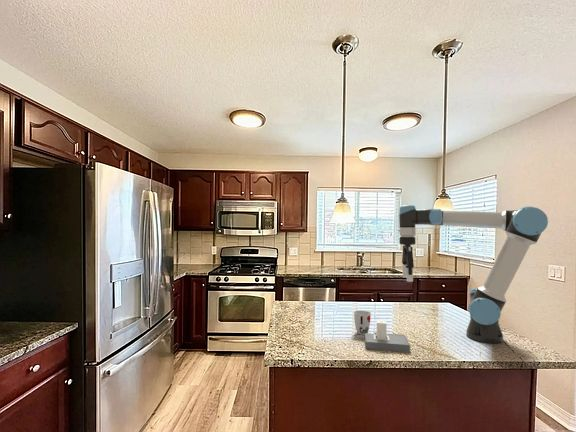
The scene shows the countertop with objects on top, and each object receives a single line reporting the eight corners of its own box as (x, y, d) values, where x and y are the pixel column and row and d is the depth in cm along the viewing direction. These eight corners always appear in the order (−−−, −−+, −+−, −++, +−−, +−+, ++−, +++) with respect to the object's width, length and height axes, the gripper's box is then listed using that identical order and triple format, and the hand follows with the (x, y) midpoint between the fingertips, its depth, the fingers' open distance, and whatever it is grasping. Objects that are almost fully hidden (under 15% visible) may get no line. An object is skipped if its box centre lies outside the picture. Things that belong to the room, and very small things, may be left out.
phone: (404, 337, 159) (404, 334, 159) (407, 342, 152) (407, 339, 152) (374, 335, 161) (374, 332, 162) (375, 340, 155) (375, 337, 155)
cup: (358, 336, 158) (358, 315, 159) (351, 331, 166) (351, 311, 167) (373, 334, 160) (373, 314, 161) (365, 329, 168) (365, 310, 169)
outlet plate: (405, 342, 150) (405, 335, 150) (409, 352, 138) (409, 344, 138) (365, 339, 153) (364, 332, 153) (365, 348, 142) (365, 341, 142)
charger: (385, 343, 148) (385, 320, 149) (386, 346, 145) (386, 323, 145) (376, 342, 149) (376, 320, 150) (377, 345, 146) (377, 322, 146)
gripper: (396, 235, 177) (396, 275, 176) (403, 237, 152) (403, 283, 151) (411, 236, 175) (411, 276, 174) (420, 237, 151) (420, 283, 150)
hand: (407, 279), depth 163 cm, fingers open, 13 cm apart
